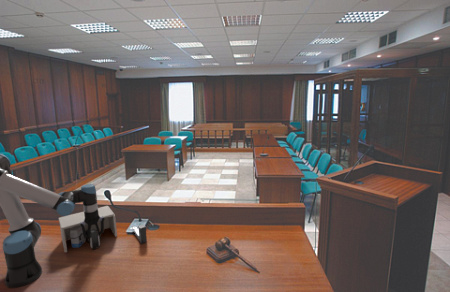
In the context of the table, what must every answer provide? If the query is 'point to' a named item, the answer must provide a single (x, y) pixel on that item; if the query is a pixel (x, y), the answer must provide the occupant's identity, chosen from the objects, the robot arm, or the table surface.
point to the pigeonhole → (75, 220)
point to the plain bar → (140, 233)
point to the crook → (94, 238)
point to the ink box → (77, 236)
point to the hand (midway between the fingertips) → (95, 245)
